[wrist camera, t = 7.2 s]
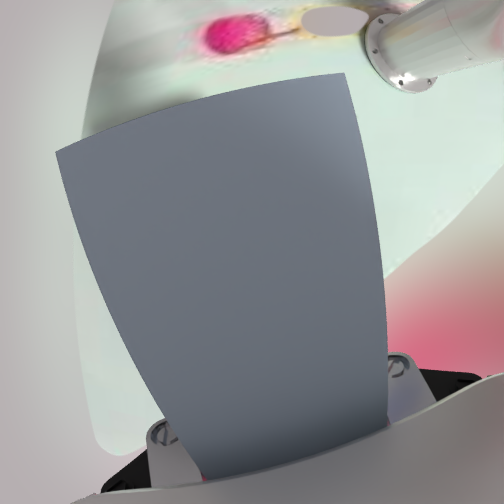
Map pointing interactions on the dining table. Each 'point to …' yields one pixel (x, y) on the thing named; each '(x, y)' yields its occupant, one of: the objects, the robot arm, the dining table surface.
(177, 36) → the dining table surface
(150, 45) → the dining table surface
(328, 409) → the panel
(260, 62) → the dining table surface
